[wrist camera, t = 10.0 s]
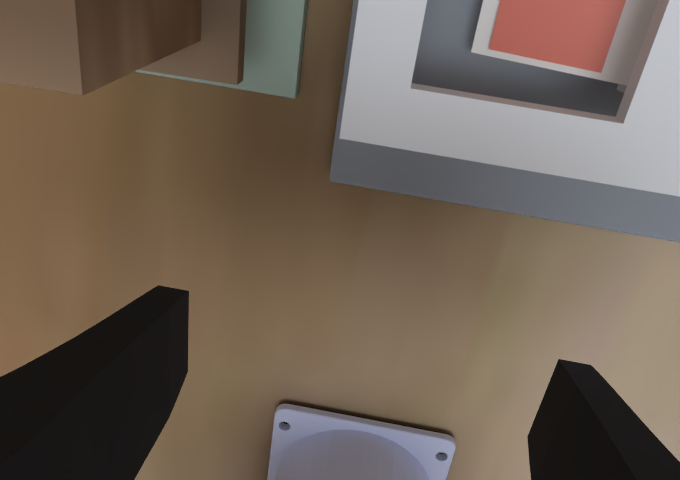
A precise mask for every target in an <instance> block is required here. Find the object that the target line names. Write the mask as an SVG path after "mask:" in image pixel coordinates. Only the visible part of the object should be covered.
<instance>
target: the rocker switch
mask: <svg viewBox="0 0 680 480" xmlns="http://www.w3.org/2000/svg"><path fill="white" fill-rule="evenodd" d="M657 2H658V0H483V3H482V7H481V12H480V16H479V20H478V24H477V29H476V33H475V37H474V41H473V46H472V50H471V52H472V53H477V54H481V55H486V56H491V57H495V58H500V59H505V60H509V61H514V62H519V63H523V64H528V65H533V66H537V67H542V68H547V69H551V70H556V71H561V72H565V73H570V74H575V75H579V76H584V77H589V78H593V79H598V80H603V81H607V82H612V83H616V84H618V87H617V90H618V91H620V92H623V93H625V90H626V87H627V84H628V82H629V79H630V76H631V73H632V71H633V68H634V65H635V62H636V60H637V57H638V54H639V52H640V49H641V46H642V43H643V41H644V38H645V35H646V32H647V30H648V27H649V24H650V21H651V19H652V16H653V13H654V10H655V8H656V5H657Z"/></svg>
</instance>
